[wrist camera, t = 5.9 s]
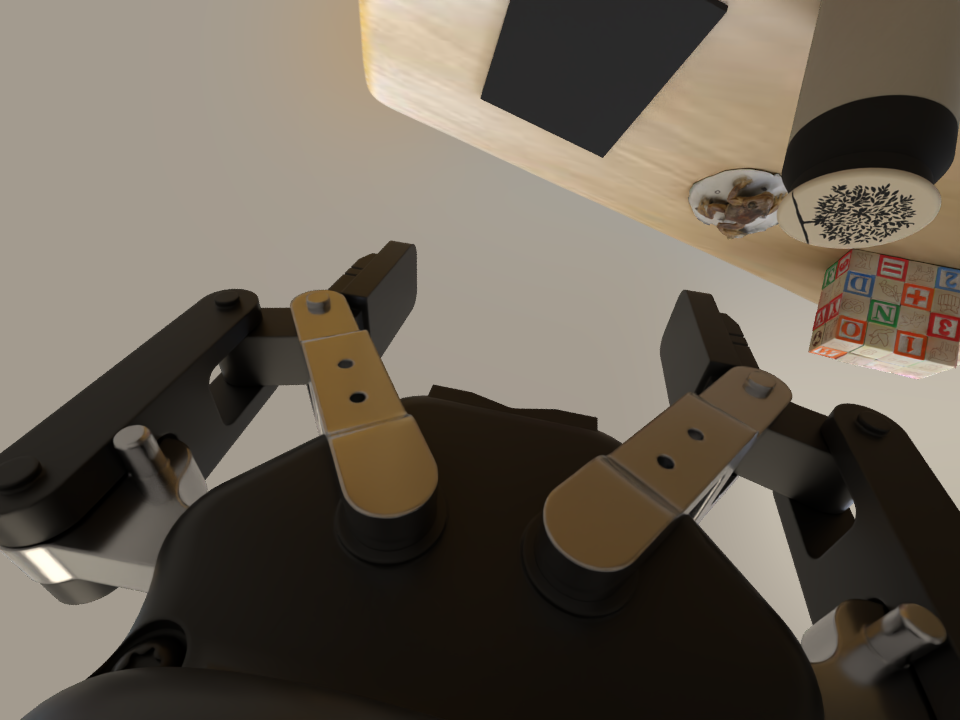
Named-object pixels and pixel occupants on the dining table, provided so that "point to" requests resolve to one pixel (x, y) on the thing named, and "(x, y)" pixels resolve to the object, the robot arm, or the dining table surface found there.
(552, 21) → the mat
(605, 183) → the dining table surface
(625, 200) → the dining table surface
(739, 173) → the frog figurine
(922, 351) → the stack of blocks
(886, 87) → the travel mug
